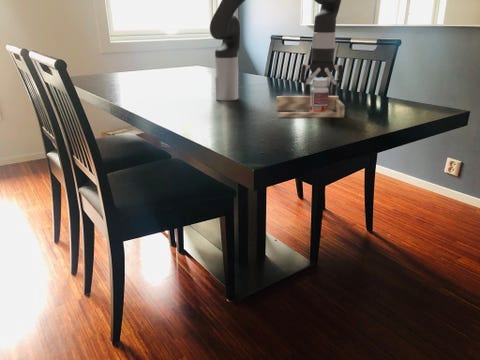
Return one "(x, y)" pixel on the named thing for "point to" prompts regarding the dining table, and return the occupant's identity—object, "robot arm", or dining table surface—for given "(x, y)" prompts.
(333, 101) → the tray
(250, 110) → the dining table surface
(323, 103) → the pill bottle
